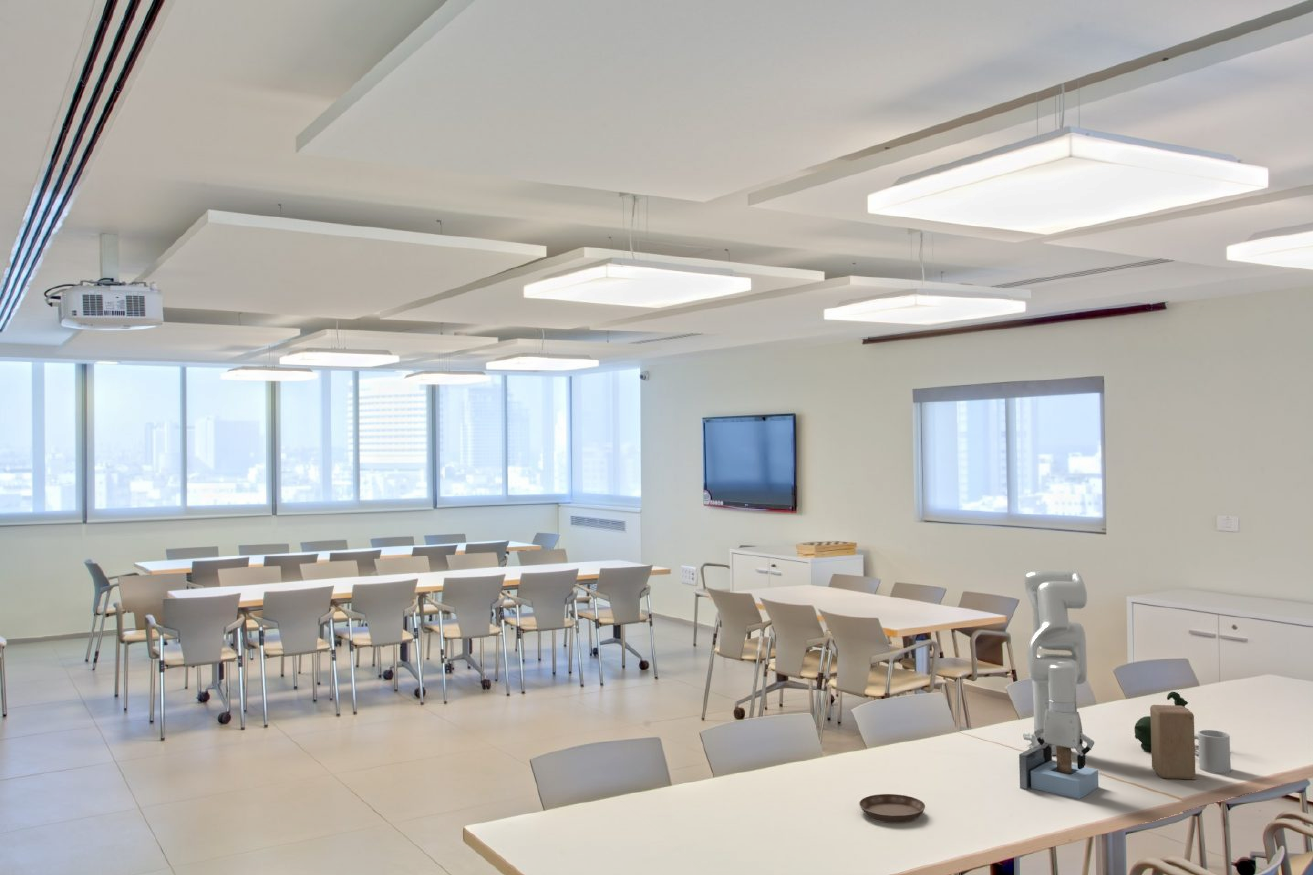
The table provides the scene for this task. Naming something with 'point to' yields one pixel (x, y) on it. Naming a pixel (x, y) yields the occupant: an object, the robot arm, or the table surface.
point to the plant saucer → (892, 808)
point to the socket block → (1064, 780)
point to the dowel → (1064, 760)
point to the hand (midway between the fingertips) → (1064, 764)
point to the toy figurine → (1144, 723)
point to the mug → (1213, 751)
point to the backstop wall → (1030, 764)
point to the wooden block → (1172, 741)
